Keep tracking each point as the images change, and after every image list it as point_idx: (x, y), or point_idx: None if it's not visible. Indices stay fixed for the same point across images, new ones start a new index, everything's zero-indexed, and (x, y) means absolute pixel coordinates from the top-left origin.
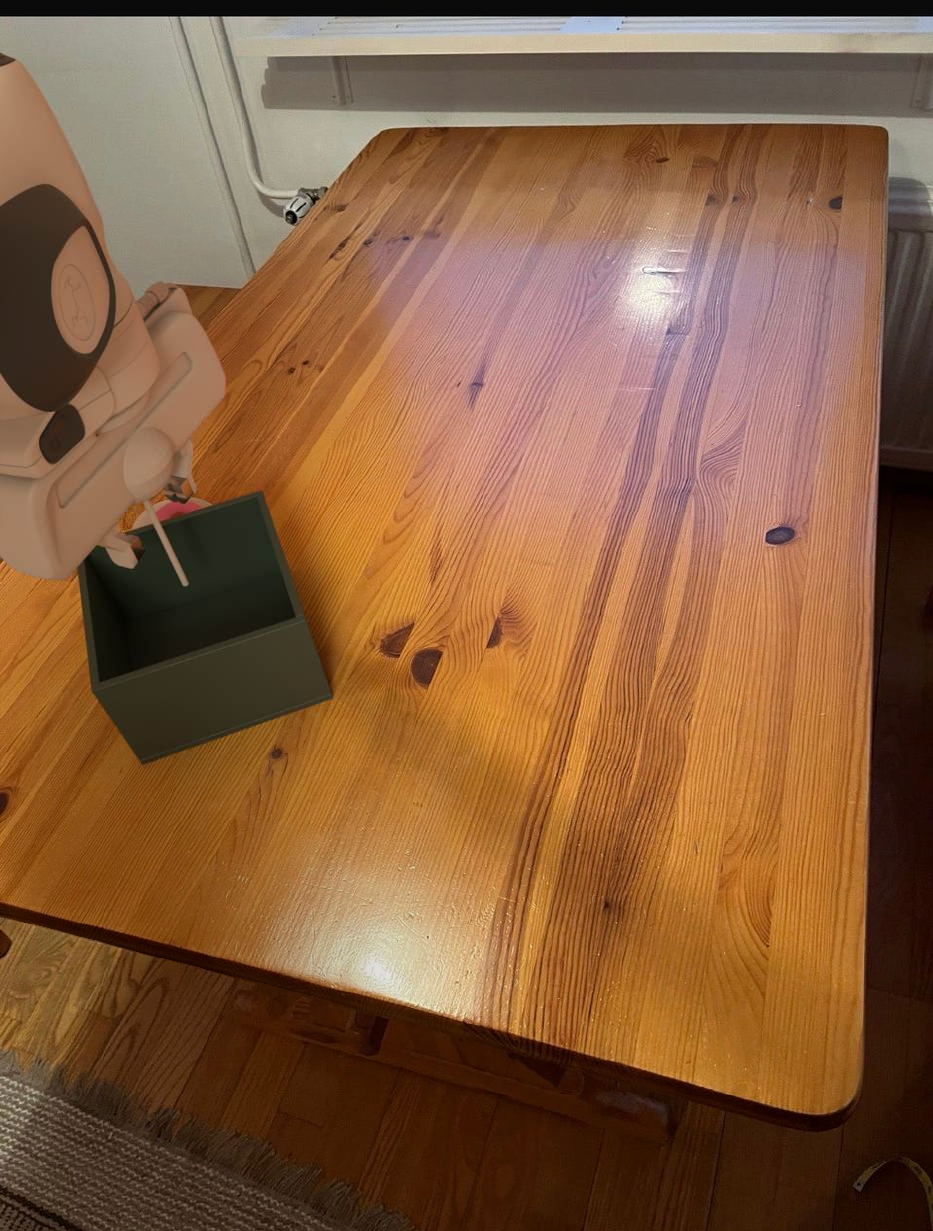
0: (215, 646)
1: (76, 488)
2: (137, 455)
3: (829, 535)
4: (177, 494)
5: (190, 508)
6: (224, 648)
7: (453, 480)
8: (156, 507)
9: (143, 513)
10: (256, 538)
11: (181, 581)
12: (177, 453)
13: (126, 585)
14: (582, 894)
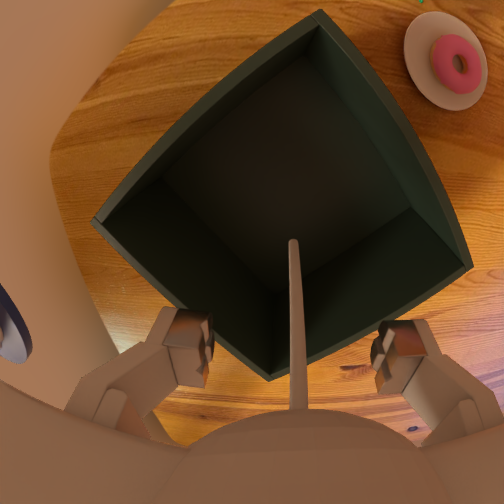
0: None
1: None
2: None
3: (409, 437)
4: (380, 358)
5: (473, 77)
6: None
7: (495, 298)
8: (466, 30)
9: (455, 18)
10: (428, 218)
11: (289, 246)
12: (428, 441)
13: (327, 66)
14: (202, 411)
